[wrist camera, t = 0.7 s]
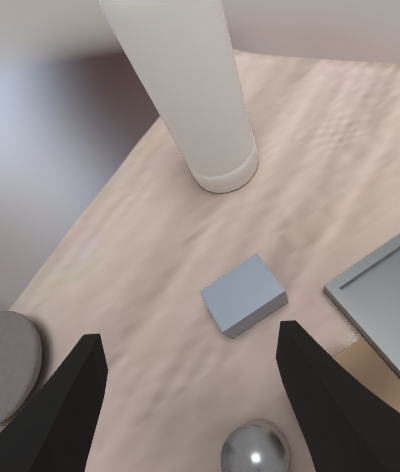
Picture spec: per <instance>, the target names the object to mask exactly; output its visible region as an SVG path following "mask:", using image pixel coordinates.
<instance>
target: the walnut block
mask: <svg viewBox="0 0 400 472" xmlns="http://www.w3.org/2000/svg"><path fill="white" fill-rule="evenodd" d="M333 359H334V360H336V361H337V362H338V363H339V364H340V365H341V366H342V367H343V368H344V369H345V370H346V371H347V372H349V373H350V374H351V375H352V376H353V377H354V378H355V379H357V380H358V381H359V382H360V383H361V384H362V385H364V386H365V387H366V388H367V389H369V390H370V391H371V392H372V393H374V394H375V395H376V396H378V397H379V398H380V399H382V400H383V401H384V402H385V403H387V404H388V405H389V406H391V407H392V408H394V409H395V410H396V411H398V412H399V413H400V380H399V379H398V377H397V376H396V375H395V374H394V373H393V372H392V370H391V369H390V368H389V367H388V366H387V365H386V364H385V362H384V361H383V360H382V359H381V358H380V357H379V355H378V354H377V353H376V352H375V351H374V350H373V349H372V347H371V346H370V345H369V344H368V343H367V342H366V341H365V339H364V338H363V337H362V338H361V339H359V340H358V341H356V342H355V343H353V344H352V345H351V346H349V347H348V348H346V349H345V350H343V351H342V352H340V353H339V354H337V355H336V356H334V357H333Z"/></svg>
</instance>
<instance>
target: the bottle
mask: <svg viewBox="0 0 400 472" xmlns="http://www.w3.org/2000/svg"><path fill="white" fill-rule="evenodd" d="M99 3H100V7H101V9H102V11H103V14H104V16H105V17H106V19H107V21H108V23H109V25H110V26H111V28H112V30H113V32H114V34H115V35H116V37H117V39H118V41H119V42H120V44H121V46H122V48H123V50H124V51H125V53H126V55H127V56H128V59H129V60H130V62H131V64H132V66H133V68H134V69H135V71H136V73H137V74H138V76H139V78H140V80H141V82H142V83H143V85H144V87H145V89H146V91H147V92H148V94H149V96H150V98H151V100H152V101H153V103H154V105H155V107H156V108H157V110H158V112H159V114H160V116H161V117H162V119H163V121H164V123H165V125H166V126H167V128H168V130H169V132H170V134H171V135H172V137H173V139H174V141H175V142H176V144H177V146H178V148H179V150H180V151H181V153H182V155H183V157H184V159H185V160H186V163H187V165H188V167H189V169H190V171H191V173H192V175H193V176H194V178H195V179H196V180H197V182H198V184H199V185H200V186H202V187H203V188H204V189H205V190H207V191H211V192H214V193H227V192H230V191H233V190H236V189H239V188H240V187H242V186H243V185H244V184H246V183H247V182H249V180H250V179H251V178H252V176H253V175H254V174H255V172H256V169H257V166H258V155H257V148H256V142H255V138H254V135H253V134H252V129H251V125H250V121H249V117H248V112H247V108H246V104H245V100H244V96H243V91H242V87H241V83H240V79H239V74H238V70H237V66H236V62H235V57H234V53H233V49H232V45H231V41H230V36H229V32H228V28H227V24H226V20H225V15H224V11H223V7H222V3H221V0H99Z"/></svg>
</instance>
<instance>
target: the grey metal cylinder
mask: <svg viewBox="0 0 400 472" xmlns="http://www.w3.org/2000/svg"><path fill="white" fill-rule="evenodd" d="M289 463H290V448H289V444H288V441H287V439H286V437H285V435H284V434H283V432H282V431H281V430H280V429H279V428H278V427H277V426H276V425H275V424H273V423H272V422H270V421H267V420H262V419H258V420H253V421H251V422H249V423H247V424H245V425H244V426H242V427H240V428H238V429H237V430H235V431H234V432H232V433H231V434H230V435H229V436H228V438H227V439H226V441H225V443H224V446H223V449H222V454H221V468H222V472H287V470H288V466H289Z"/></svg>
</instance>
